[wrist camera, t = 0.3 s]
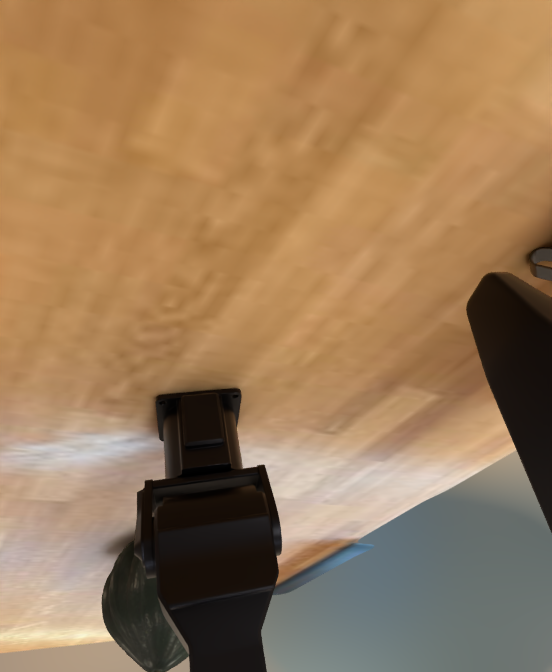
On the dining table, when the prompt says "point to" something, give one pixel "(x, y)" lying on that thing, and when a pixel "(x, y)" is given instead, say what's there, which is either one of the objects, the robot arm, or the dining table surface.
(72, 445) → the dining table surface
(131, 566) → the squash
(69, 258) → the dining table surface
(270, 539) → the robot arm
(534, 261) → the coffee press
